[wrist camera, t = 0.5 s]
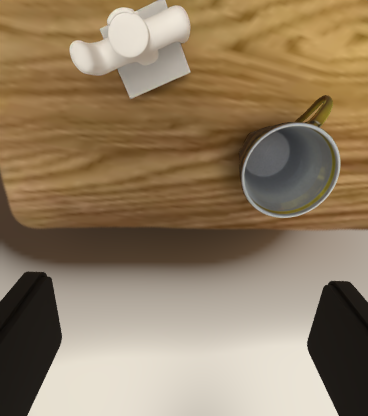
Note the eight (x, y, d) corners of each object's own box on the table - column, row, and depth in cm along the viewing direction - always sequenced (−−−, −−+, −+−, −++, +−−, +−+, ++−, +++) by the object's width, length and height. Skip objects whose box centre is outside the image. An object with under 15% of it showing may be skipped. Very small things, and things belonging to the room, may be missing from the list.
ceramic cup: (276, 198, 40) (303, 231, 31) (214, 170, 39) (223, 196, 29) (330, 111, 36) (382, 120, 26) (263, 75, 34) (292, 71, 25)
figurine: (198, 70, 34) (209, 57, 20) (127, 101, 35) (91, 110, 21) (175, 2, 31) (169, -66, 17) (99, 39, 32) (37, 3, 19)
